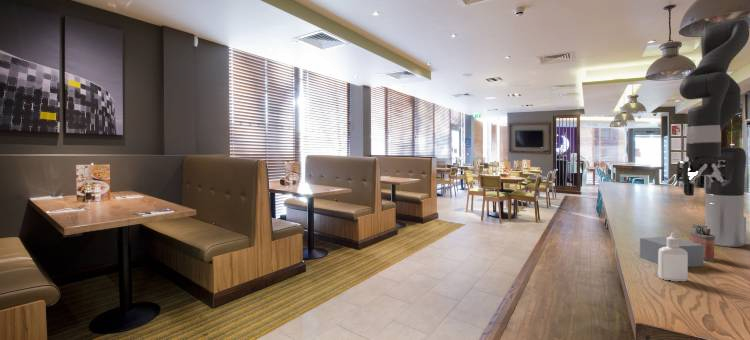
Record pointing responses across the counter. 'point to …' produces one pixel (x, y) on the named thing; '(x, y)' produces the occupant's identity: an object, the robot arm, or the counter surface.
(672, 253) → the eye dropper bottle
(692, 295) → the counter surface
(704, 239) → the lighter
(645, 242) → the pedestal block
